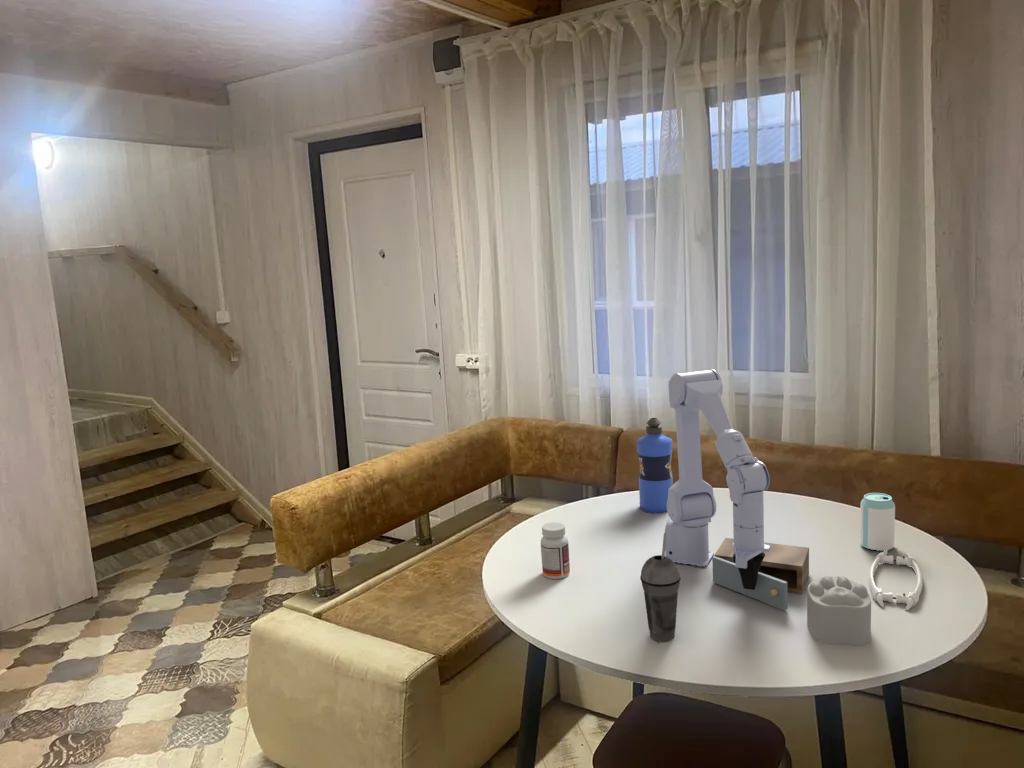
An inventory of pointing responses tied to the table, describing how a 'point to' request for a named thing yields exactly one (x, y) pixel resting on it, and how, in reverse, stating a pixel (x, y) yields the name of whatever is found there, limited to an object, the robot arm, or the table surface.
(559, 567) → the pill bottle
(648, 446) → the water bottle
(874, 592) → the white oval frame
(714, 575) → the cabinet door
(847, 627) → the grey paw shaped block
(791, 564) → the walnut cabinet
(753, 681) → the table surface
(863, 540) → the can
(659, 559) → the beverage cup
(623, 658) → the table surface
